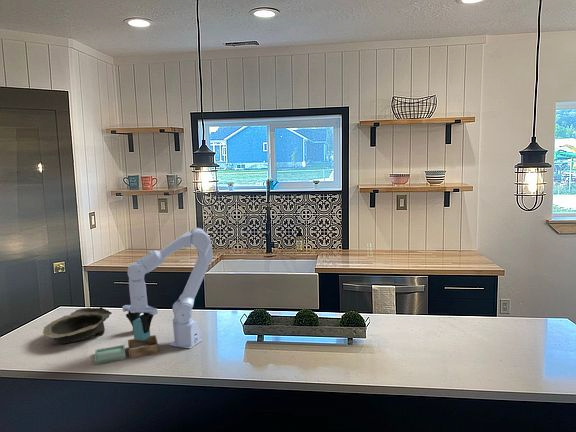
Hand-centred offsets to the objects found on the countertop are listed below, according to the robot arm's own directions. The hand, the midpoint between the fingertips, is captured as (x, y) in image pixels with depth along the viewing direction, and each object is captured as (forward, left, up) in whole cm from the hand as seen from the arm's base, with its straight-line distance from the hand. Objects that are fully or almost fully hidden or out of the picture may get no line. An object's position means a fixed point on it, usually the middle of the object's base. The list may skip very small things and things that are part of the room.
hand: (141, 331), depth 164 cm
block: (0, 0, -2) cm, 2 cm away
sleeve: (0, 0, -7) cm, 7 cm away
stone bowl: (+34, -1, -8) cm, 35 cm away
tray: (+8, +8, -7) cm, 13 cm away
